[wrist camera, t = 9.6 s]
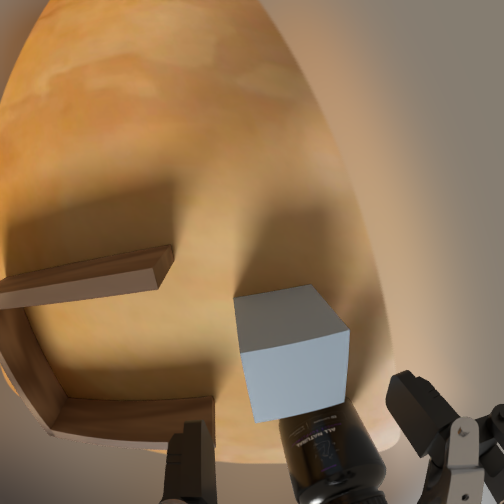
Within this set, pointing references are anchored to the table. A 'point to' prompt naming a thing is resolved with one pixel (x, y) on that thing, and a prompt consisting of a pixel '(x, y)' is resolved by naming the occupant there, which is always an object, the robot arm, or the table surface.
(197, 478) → the robot arm
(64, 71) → the table surface
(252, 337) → the slate block
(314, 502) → the supplement bottle
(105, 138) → the table surface
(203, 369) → the table surface
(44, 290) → the brown three-sided frame
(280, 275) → the table surface
